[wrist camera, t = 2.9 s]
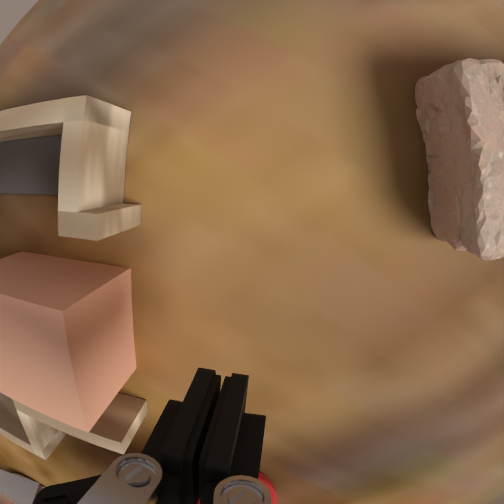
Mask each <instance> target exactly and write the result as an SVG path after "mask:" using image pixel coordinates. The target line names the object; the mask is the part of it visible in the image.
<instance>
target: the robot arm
mask: <svg viewBox="0 0 504 504" xmlns="http://www.w3.org/2000/svg"><path fill="white" fill-rule="evenodd" d="M248 378H249V375H242V374H235V373H232V376H231V377H227V376H225V379H224V382H223V385H222V388H221V391H220V386H221V375H216V372H215V370H210V369H204V368H198V370H197V372H196V374H195V377H194V379H193V381H192V383H191V385H190V387H189V390H188V392H187V394H186V396H185V398H184V401H183V402H180V401H176V400H169V401H168V403H167V405H166V407H165V409H164V411H163V412H162V414H161V416H160V418H159V420H158V422H157V424H156V426H155V428H154V430H153V432H152V434H151V436H150V438H149V440H148V442H147V443H146V445H145V447H144V449H143V451H142V453H129V454H124V455H122V456H120V457H118V458H117V459H116V460H114V461H113V462H112V464H111V465H110V466H109V467H108V468H107V470H106V471H105V472H104V473H103V474H102V475H98V476H94V477H90V478H85V479H81V480H76V481H72V482H67V483H62V484H56V485H51V486H48V487H43V486H41V484H40V483H38V482H35V481H32V480H31V479H29V478H27V477H25V476H23V475H20V474H17V473H9V472H7V471H4V470H1V469H0V504H198V501H199V498H200V504H272V500H271V494H270V491H269V489H268V487H267V486H266V485H265V484H264V483H263V482H261V481H260V480H258V477H259V469H260V461H261V453H262V445H263V437H264V428H265V420H266V416H264V415H256V414H249V413H245V405H246V396H247V387H248Z"/></svg>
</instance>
